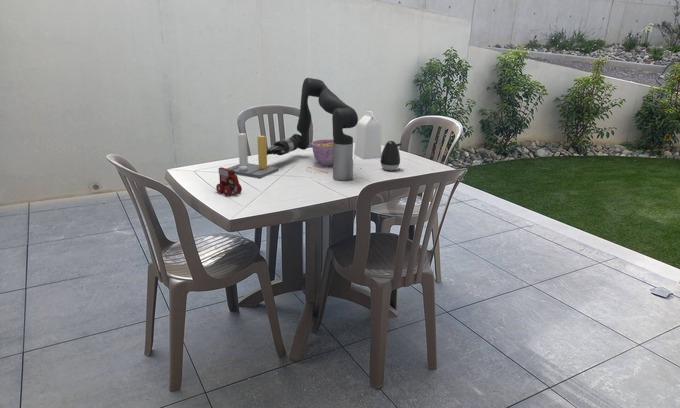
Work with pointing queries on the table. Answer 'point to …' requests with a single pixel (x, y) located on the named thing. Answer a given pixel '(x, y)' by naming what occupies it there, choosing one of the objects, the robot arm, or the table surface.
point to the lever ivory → (242, 149)
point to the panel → (254, 170)
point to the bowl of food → (323, 151)
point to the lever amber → (262, 152)
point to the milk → (368, 137)
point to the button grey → (243, 168)
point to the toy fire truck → (228, 182)
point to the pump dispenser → (390, 156)
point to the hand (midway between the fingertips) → (264, 153)
